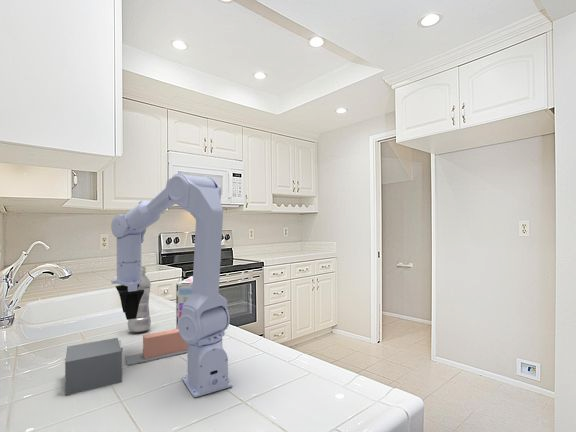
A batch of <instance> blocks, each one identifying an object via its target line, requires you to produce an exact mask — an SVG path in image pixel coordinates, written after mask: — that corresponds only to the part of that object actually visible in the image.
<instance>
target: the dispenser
mask: <svg viewBox="0 0 576 432" xmlns="http://www.w3.org/2000/svg"><path fill="white" fill-rule="evenodd" d="M123 351H124V346H123V343H122V340H121V339H119V338H118V337H114V338H113V337H112V338H107V339H102V340H96V341H91V342H85V343H79V344H75V345H69V346H67V347H66V353H65V361H64V363H65V364H64V378H65V379H64V381H65V382H64V385H65V386H64V387H65V390H64V394H65V396H68V395H72V394H77V393H80V392H85V391H90V390H93V389H97V388H98V389H99V388H103V387H106V386H109V385H114V384H119V383H122V382H123V375H122V374H123V372H122V371H123V369H122V367H123V366H122V365H123V363H122V359H123V358H122V357H123V355H122V353H123Z"/></svg>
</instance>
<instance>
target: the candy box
mask: <svg viewBox="0 0 576 432" xmlns="http://www.w3.org/2000/svg"><path fill="white" fill-rule="evenodd" d="M175 285H176V286H175V287H176V289H175V290H176V292H175V293H176V295H175V296H176V300H175V301H176V303H175V304H176V305H175V306H176V307H175V308H176V319H175V321H176V323H175V324H176V328H175V329H178V323H179V319H180V317H181V314H182V307H183V304H184V303H185V302H186V301H187V299H188V298H189V297H190V296H191V294H192V287H193V275H191V276H189V277H188V278H186V279H183V280H181V281H178V282H177V283H176V284H175Z"/></svg>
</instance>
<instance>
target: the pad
mask: <svg viewBox="0 0 576 432" xmlns="http://www.w3.org/2000/svg"><path fill="white" fill-rule="evenodd" d="M184 354H187V350H183V351H179V352H174V353H169V354H165V355H160V356H156V357H151V358H147V359H145V358H144V356H143V352H140V353H139V352H138V353H135V354H130V355H125V356H124V358H125V361H126V364H127V366H128V367H129V366H133V365H137V364H138V365H139V364H143V363H148V362H153V361H157V360H160V359H165V358H169V357H176V356H181V355H184Z"/></svg>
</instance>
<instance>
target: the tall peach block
mask: <svg viewBox="0 0 576 432" xmlns="http://www.w3.org/2000/svg"><path fill="white" fill-rule="evenodd" d="M183 350H186V351H187V343H185V342H184V340H183V339H182V337H181V336H180V333H179V329H176V328H175V329H168V330H164V331H158V332H153V333H147V334H143V335H142V353H143V356H144V358H145V359H147V358H151V357H156V356H160V355H165V354H169V353H174V352H179V351H183Z"/></svg>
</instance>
